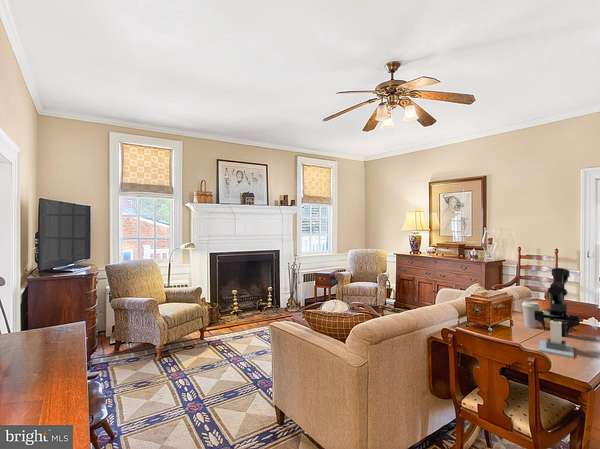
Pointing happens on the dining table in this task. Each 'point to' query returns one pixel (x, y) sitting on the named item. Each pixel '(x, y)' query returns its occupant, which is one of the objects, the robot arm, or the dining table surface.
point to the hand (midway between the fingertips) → (555, 332)
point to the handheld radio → (547, 318)
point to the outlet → (556, 348)
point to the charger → (556, 332)
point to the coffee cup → (530, 313)
